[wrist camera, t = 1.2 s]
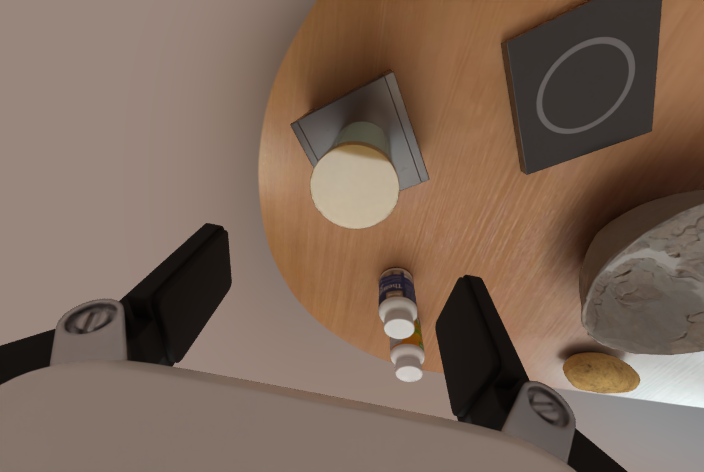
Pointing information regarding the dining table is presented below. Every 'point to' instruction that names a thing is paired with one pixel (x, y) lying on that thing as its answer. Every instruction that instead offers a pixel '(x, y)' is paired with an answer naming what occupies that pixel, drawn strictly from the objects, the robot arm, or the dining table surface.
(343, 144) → the jar
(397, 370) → the supplement bottle
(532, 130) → the hob
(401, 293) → the pill bottle
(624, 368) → the potato
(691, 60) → the dining table surface
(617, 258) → the ceramic bowl
